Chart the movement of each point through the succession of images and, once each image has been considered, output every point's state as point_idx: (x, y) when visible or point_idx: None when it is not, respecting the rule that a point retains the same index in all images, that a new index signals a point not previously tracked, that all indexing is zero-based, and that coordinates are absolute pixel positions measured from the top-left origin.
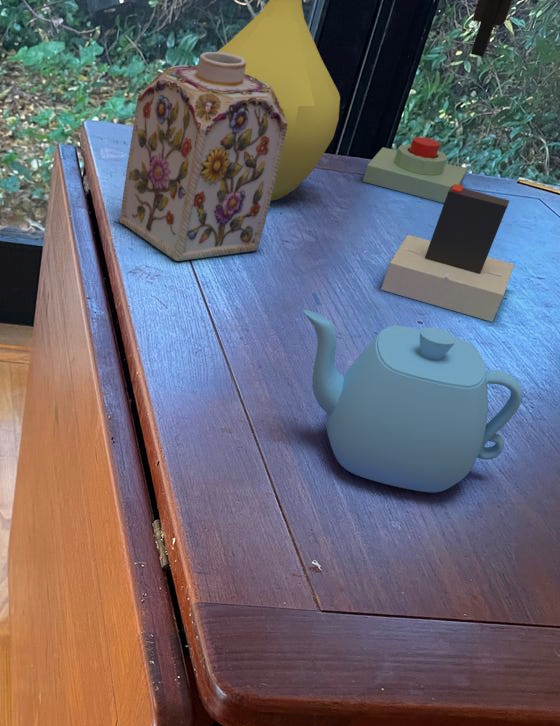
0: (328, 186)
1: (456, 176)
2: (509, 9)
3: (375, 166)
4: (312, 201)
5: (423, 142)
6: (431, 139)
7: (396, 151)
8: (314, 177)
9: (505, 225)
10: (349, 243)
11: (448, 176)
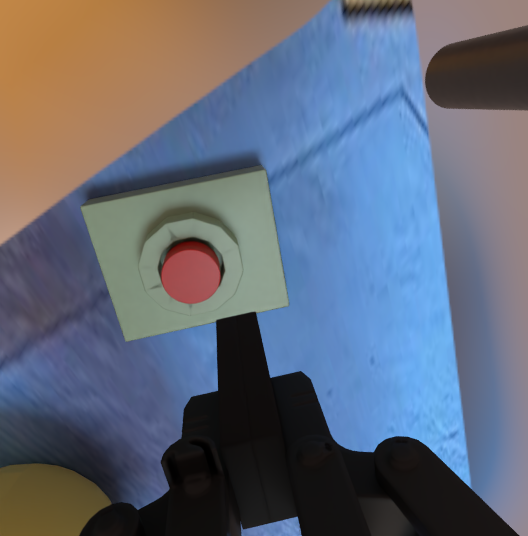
0: (108, 395)
1: (267, 244)
2: (319, 404)
3: (140, 337)
4: (132, 466)
5: (190, 291)
6: (191, 253)
7: (114, 207)
8: (68, 380)
9: (380, 297)
10: (241, 533)
11: (256, 259)
